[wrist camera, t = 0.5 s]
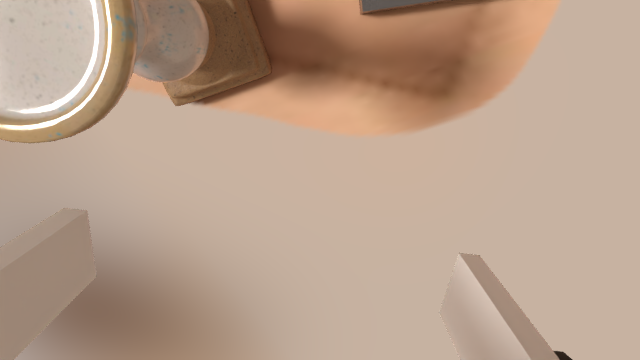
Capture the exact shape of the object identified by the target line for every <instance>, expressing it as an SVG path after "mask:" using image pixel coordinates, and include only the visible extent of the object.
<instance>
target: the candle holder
mask: <svg viewBox="0 0 640 360" xmlns="http://www.w3.org/2000/svg"><path fill="white" fill-rule="evenodd" d="M271 72H272V68H271V65H270V62H269V58H268V55H267V52H266V50H265V47H264V44H263V41H262V39H261V36H260V33H259V30H258V28H257V25H256V22H255V19H254V16H253V14H252V11H251V8H250V5H249V3H248V0H0V139H1V140H5V141H10V142H22V143H40V142H51V141H56V140H59V139H63V138H68V137H71V136H74V135H76V134H78V133H80V132H82V131H85V130H87V129H89V128H91V127H92V126H93V125H95V124H96V123H98V122H99V121H100V120H102V119H103V118H104V117H105V116H106V115H107V114H108V113H109V112H110V111H111V110H112V109H113V108H114V107H115V105H116V104H117V103H118V102H119V100H120V98H121V97H122V95H123V94H124V92H125V90H126V89H127V86H128V84H129V81H130V79H131V76H132V73H134V74H136V75H138V76H139V77H142V78H144V79H147V80H150V81H155V82H162V83H163V85H164V87H165V89H166V91H167V93H168V94H169V96H170V98H171V100H172V102H173V103H174V104H175V106H181V105H184V104H187V103H191V102H194V101H197V100H200V99H203V98H206V97H208V96H211V95H214V94H217V93H220V92H223V91H225V90H228V89H231V88H234V87H237V86H240V85H242V84H245V83H248V82H251V81H254V80H256V79H259V78H261V77H264V76H266V75H269V74H270V73H271Z"/></svg>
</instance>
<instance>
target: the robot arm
mask: <svg viewBox="0 0 640 360" xmlns="http://www.w3.org/2000/svg"><path fill="white" fill-rule="evenodd" d="M96 276H97V275H96V268H95V261H94V254H93V247H92V240H91V233H90V226H89V219H88V212H87V210H78V209H69V208H63V209H62V210H60V211H59V212H57V213H55V214H54V215H52V216H50V217H49V218H47V219H46V220H44V221H43V222H41V223H39V224H38V225H36V226H34V227H33V228H31V229H29V230H28V231H26V232H25V233H23V234H21V235H20V236H18V237H17V238H15V239H13V240H12V241H10V242H8V243H7V244H5V245H4V246H2V247H0V360H14V359H15V358H16V357H17V356H18V355H19V354H20V353H21V352H22V351H23V350H24V349H25V348H26V347H27V346H28V345H29V344H30V343H31V342H32V341H33V340H34V339H35V338H36V337H37V336H38V335H39V334H40V333H41V332H42V331H43V330H44V329H45V328H46V327H47V325H48V324H50V323H51V322H52V321H53V320H54V319H55V318H56V317H57V316H58V314H60V313H61V312H62V311H63V309H64V308H66V306H67V305H68V304H69V303H70V302H71V301H72V300H73V299H74V298H75V297H76V296H77V295H78V294H79V293H80V292H81V291H82V290H83V289H84V288H85V287H86V286H87V285H88V284H89V283H90V282H91V281H92V280H93V279H94V278H95V277H96ZM439 313H440V315H441V318H442V320H443V322H444V324H445V327H446V329H447V331H448V333H449V335H450V338H451V340H452V342H453V344H454V347H455V349H456V351H457V353H458V355H459V357H460V360H572V359H571V358H570V357H569V356H567V355H566V354H565V353H564V352H559V351H553V350H552V349H551V348H550V346H549V345H548V344H547V342H546V341H545V340H544V338H543V337H542V336H541V335H540V334H539V332H538V331H537V329H536V328H535V327H534V326H533V324H532V323H531V322H530V320H529V319H528V318H527V317H526V315H525V314H524V313H523V311H522V310H521V309H520V307H519V306H518V305H517V303H516V302H515V301H514V299H513V298H512V297H511V296H510V294H509V293H508V292H507V290H506V289H505V288H504V287H503V285H502V284H501V283H500V281H499V280H498V279H497V277H496V276H495V275H494V274H493V272H492V271H491V270H490V269H489V267H488V266H487V265H486V263H485V262H484V261H483V259H482V258H481V257H480V255H472V254H463V253H459V255H458V257H457V260H456V263H455V266H454V269H453V272H452V275H451V278H450V281H449V284H448V287H447V290H446V293H445V296H444V299H443V302H442V305H441V308H440V311H439Z"/></svg>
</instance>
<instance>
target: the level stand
mask: <svg viewBox="0 0 640 360" xmlns="http://www.w3.org/2000/svg"><path fill="white" fill-rule="evenodd" d="M445 1H452V0H359V3H360V14H366V13H372V12H379V11H386V10H392V9H399V8H406V7H412V6H419V5H425V4H432V3H439V2H445Z"/></svg>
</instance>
